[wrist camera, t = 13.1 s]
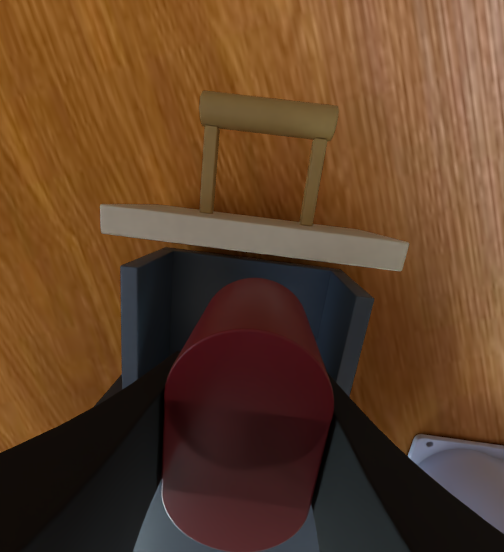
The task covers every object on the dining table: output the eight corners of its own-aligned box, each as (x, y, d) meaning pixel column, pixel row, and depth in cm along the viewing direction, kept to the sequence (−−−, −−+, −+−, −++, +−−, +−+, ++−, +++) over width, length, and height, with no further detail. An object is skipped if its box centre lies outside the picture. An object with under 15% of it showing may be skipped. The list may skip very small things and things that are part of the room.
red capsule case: (315, 285, 10) (352, 343, 6) (286, 436, 11) (297, 563, 7) (208, 270, 10) (165, 317, 6) (195, 424, 12) (158, 542, 8)
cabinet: (151, 339, 20) (81, 419, 12) (333, 364, 19) (374, 461, 12) (148, 494, 24) (94, 624, 16) (298, 516, 23) (313, 658, 16)
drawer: (159, 106, 15) (93, 45, 9) (381, 132, 14) (454, 86, 9) (152, 401, 20) (108, 478, 14) (315, 424, 20) (335, 511, 14)
